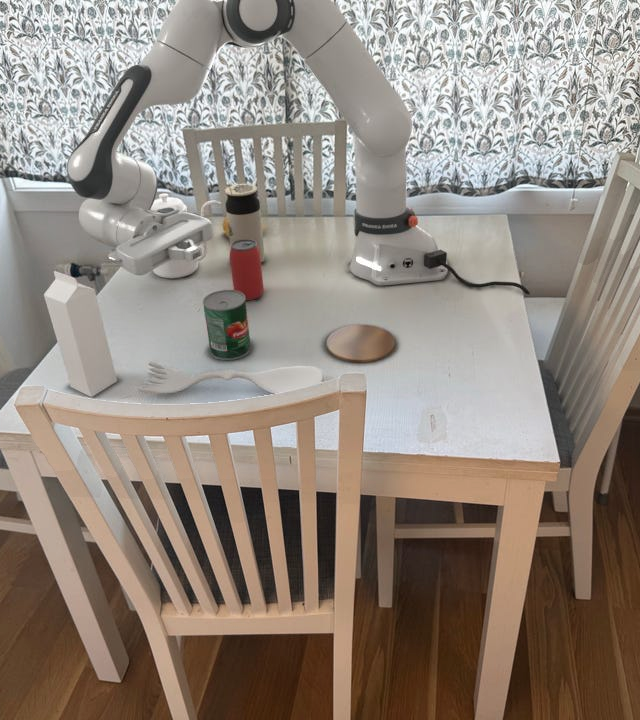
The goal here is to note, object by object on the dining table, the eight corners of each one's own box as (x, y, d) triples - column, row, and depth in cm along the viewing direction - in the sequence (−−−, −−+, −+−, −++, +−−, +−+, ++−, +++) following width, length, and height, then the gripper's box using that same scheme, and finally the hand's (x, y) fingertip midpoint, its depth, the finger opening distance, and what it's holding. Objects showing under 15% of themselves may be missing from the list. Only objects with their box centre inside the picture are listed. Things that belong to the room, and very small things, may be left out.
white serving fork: (152, 374, 125) (148, 359, 123) (325, 373, 122) (324, 357, 120) (138, 404, 117) (135, 387, 115) (323, 402, 115) (322, 386, 113)
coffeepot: (224, 279, 157) (214, 201, 147) (121, 280, 160) (104, 203, 150) (233, 260, 166) (224, 185, 156) (135, 260, 169) (120, 187, 159)
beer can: (270, 293, 150) (265, 242, 144) (248, 304, 146) (242, 253, 140) (249, 285, 154) (244, 235, 147) (228, 295, 150) (221, 245, 144)
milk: (96, 372, 127) (68, 263, 115) (118, 381, 124) (91, 271, 112) (69, 387, 123) (38, 277, 111) (91, 398, 119) (60, 285, 108)
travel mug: (265, 253, 169) (258, 182, 159) (264, 266, 162) (257, 193, 152) (233, 255, 169) (224, 184, 159) (231, 268, 162) (222, 195, 152)
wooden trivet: (393, 327, 135) (393, 324, 134) (395, 362, 124) (395, 360, 124) (328, 327, 136) (328, 324, 136) (324, 362, 125) (324, 359, 125)
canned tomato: (213, 339, 134) (206, 289, 128) (253, 338, 134) (247, 288, 128) (207, 361, 128) (199, 309, 122) (248, 360, 127) (242, 308, 121)
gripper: (99, 240, 123) (152, 261, 116) (179, 203, 136) (231, 220, 130) (105, 270, 127) (157, 292, 120) (182, 232, 140) (233, 250, 133)
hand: (196, 254), depth 125 cm, fingers closed
